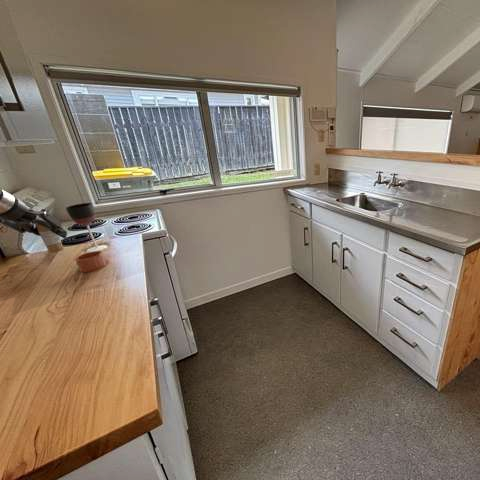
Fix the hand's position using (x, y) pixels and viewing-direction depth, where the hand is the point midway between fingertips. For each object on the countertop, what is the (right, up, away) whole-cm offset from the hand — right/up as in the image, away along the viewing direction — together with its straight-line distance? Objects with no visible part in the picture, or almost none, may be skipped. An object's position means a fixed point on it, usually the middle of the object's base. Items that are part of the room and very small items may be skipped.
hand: (57, 235), depth 99 cm
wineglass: (+1, -6, +17) cm, 18 cm away
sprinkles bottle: (+1, -6, -1) cm, 6 cm away
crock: (+15, -12, -1) cm, 19 cm away
